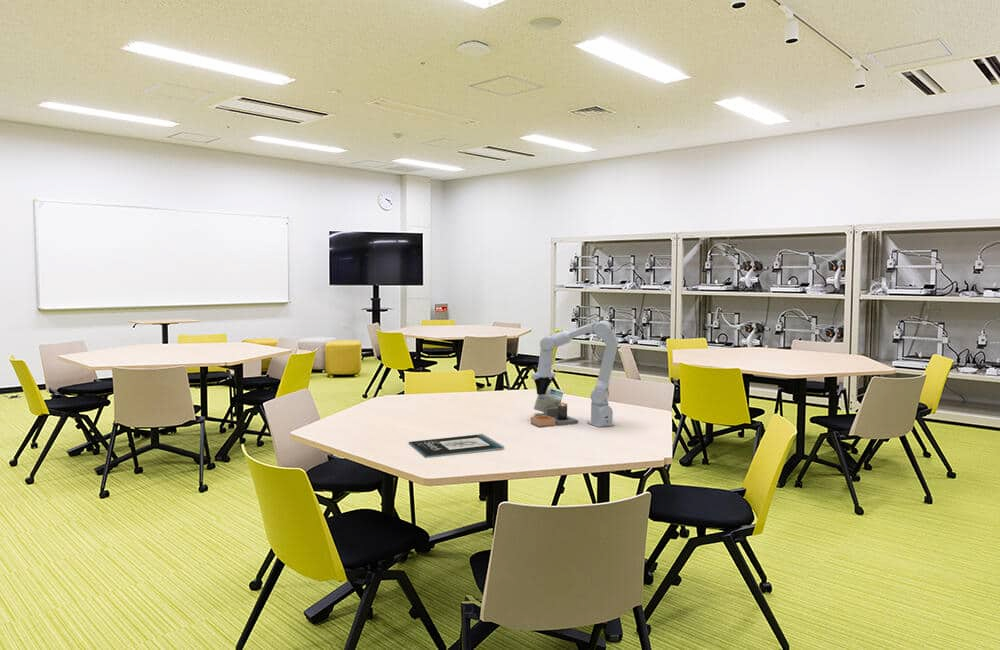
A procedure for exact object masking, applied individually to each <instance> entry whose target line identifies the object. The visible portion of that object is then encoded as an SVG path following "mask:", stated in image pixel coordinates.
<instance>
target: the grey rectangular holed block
mask: <svg viewBox="0 0 1000 650" xmlns="http://www.w3.org/2000/svg"><path fill="white" fill-rule="evenodd" d="M542 413H543V414H542V416H544V415H547V416H550V417H552V418H555V419H556V421H555V426H569V425H568V424H570V425H578V424H579V419H576V418H573V417H571V416H568V415H567V420H561V421H560V420H558V407H551V408H544V411H543V412H542ZM577 423H578V424H577Z"/></svg>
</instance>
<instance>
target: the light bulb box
mask: <svg viewBox="0 0 1000 650" xmlns="http://www.w3.org/2000/svg"><path fill="white" fill-rule="evenodd" d="M563 395H564V390H563V389H560V388H555V387H551V386H550V385H549V386H548V388H547V391H546V393H545V395H543V394H542V395H538V394H537V396H536V400H535V403H534V407H533V410H535V411H538V412H542V413H543V411H544V408H551V407H558V404H559V403H562V400H563V397H564V396H563Z"/></svg>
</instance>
